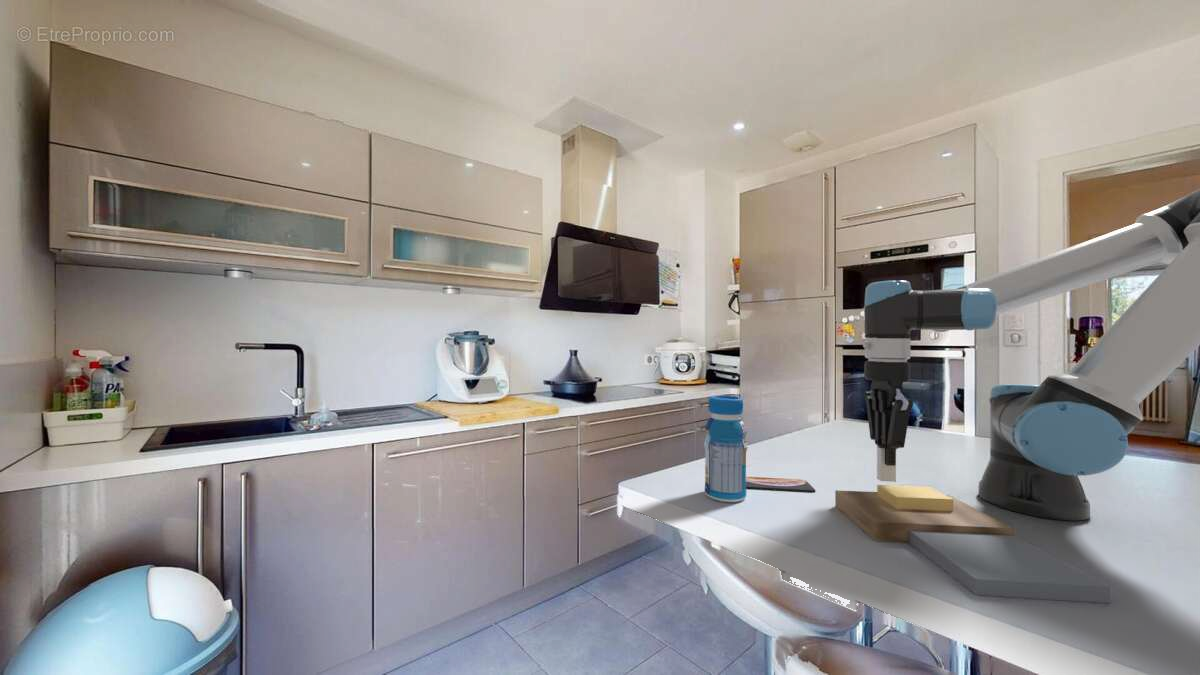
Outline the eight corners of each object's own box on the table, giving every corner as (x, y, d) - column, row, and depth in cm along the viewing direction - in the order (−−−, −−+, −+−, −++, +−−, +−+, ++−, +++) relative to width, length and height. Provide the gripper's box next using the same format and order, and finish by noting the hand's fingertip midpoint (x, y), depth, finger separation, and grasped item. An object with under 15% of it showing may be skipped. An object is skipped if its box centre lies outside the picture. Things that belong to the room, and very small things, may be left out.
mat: (1014, 548, 65) (1014, 535, 65) (1109, 603, 52) (1109, 586, 52) (909, 543, 67) (909, 530, 67) (975, 594, 53) (975, 578, 53)
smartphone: (736, 475, 98) (805, 479, 96) (736, 479, 98) (805, 483, 96) (742, 486, 91) (817, 490, 88) (742, 490, 91) (817, 494, 88)
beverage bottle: (721, 506, 81) (722, 401, 81) (695, 491, 89) (695, 395, 89) (756, 500, 84) (756, 399, 84) (728, 486, 92) (728, 393, 92)
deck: (948, 510, 79) (948, 494, 79) (1013, 547, 65) (1013, 528, 65) (835, 506, 81) (835, 490, 81) (874, 540, 67) (874, 521, 67)
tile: (929, 497, 78) (929, 486, 78) (953, 511, 72) (953, 499, 72) (877, 495, 79) (877, 484, 79) (896, 508, 73) (896, 496, 73)
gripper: (850, 358, 91) (850, 469, 91) (884, 362, 78) (884, 491, 78) (888, 358, 90) (888, 470, 90) (929, 362, 77) (928, 493, 77)
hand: (886, 480), depth 84 cm, fingers closed
